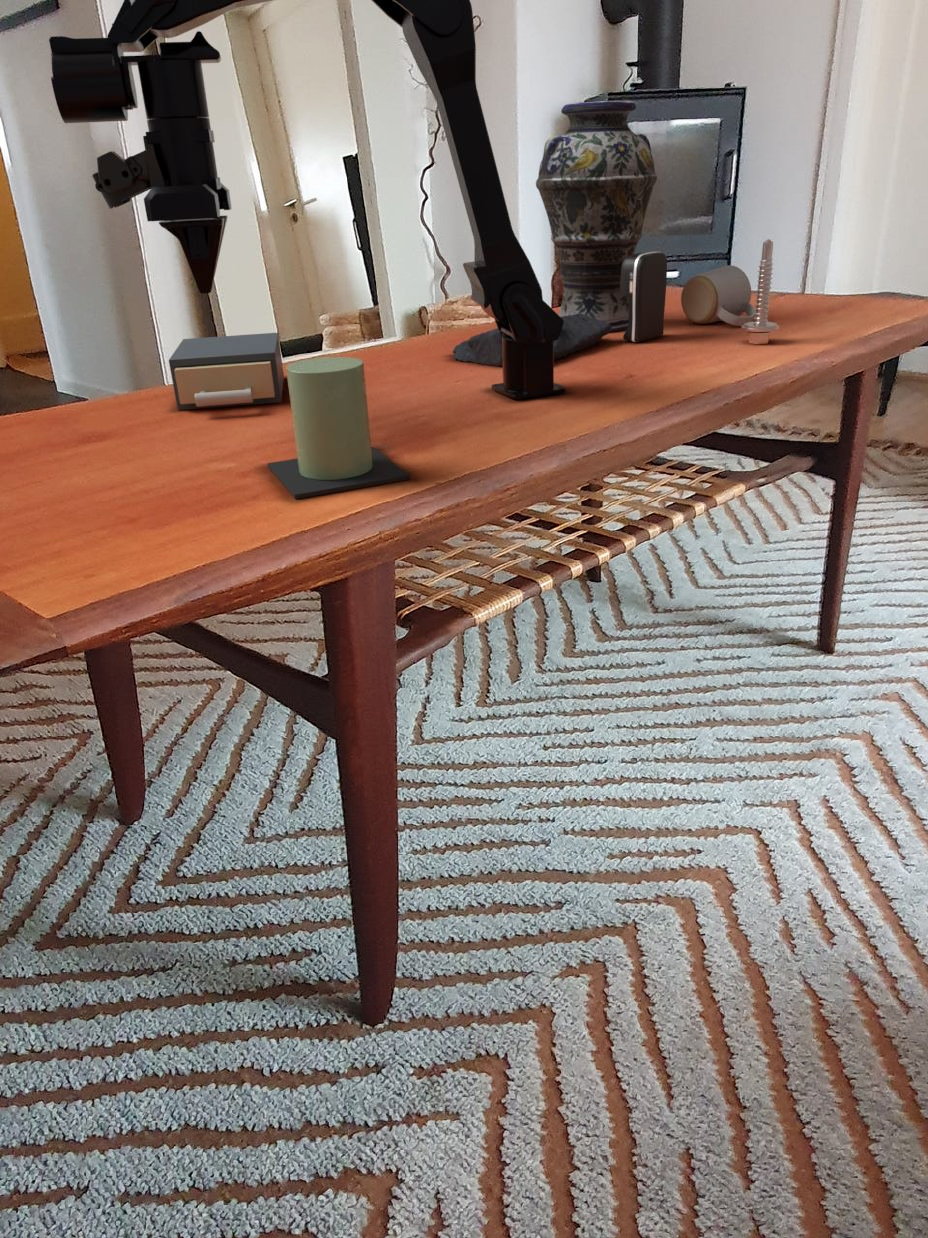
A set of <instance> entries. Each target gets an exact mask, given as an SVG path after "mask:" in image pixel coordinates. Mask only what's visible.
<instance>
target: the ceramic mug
mask: <svg viewBox="0 0 928 1238" xmlns="http://www.w3.org/2000/svg"><path fill="white" fill-rule="evenodd" d="M751 299H752V287H751V283H750V279H749V277H748V276H747V274H746V273H745V272H744V270H742V269H741V268H739V267H738V266H737V265H736V266H735V265H724V266H721V267H717V268H714V269H710V270H707V271H703V272H700V273H698V274H696V275H694V276H692V277H691V278H689V280H687V281H686V283H685V284H684V285H683V288H682V290H681V296H680V305H681V308H682V311H683V313H684V315H685V316H686V318H687V319H689V320H690V321H691V322H693V323H696V324H701V325H703V324H705V325H706V324H711V323H716V322H721V321H723V322H724V323H726V324H728V325H731V326H735V327H742V326H743V325H744V324H745V323H748V322H754V320H755V319H754V318H755V314H754V313H756V310H755V307H754V305H752V303H751ZM744 313H745V314H746V315H747V316H743V314H744Z"/></svg>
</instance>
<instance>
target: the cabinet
mask: <svg viewBox="0 0 928 1238" xmlns="http://www.w3.org/2000/svg"><path fill="white" fill-rule="evenodd" d="M263 360H269V361H271V368H272V376H273V383H274V391H275V397H270V398H257V399H253V402H250V403H237V404H224V405H211V406H198V407H197V406H196V403H192V404H180V399H179V393H178V388H177V382H176V377H175V371H174V370H175V368H182V367H184V366H194V365H208V364H222V363H235V362H249V361H263ZM168 365H169V369H170V375H171V381H172V387H173V392H174V397H175V403H176V408H177V411H184V410H185V411H186V410H199V409H213V408H226V407H235V406H236V407H237V406H238V407H239V406H251V405H264V404H265V405H266V404H275V403H278V404H279V403H282V401H283V399H282V398H283V390H284V382H285V380H284V379H285V375H284V367H283V359H282V351H281V343H280V336H279V332H267V333H265V332H264V333H253V334H252V333H251V334H250V333H249V334H237V335H224V336H223V335H222V336H208V337H207V336H206V337H194V338H183V339H182V340H181V341H180V343H179V344H178V346H177V347H176V349H175V350H174V351H173V353H172V354H171V356H170V358H169V359H168Z"/></svg>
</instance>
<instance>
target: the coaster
mask: <svg viewBox="0 0 928 1238" xmlns="http://www.w3.org/2000/svg"><path fill="white" fill-rule="evenodd" d="M371 451H372V462H373V467H372V469H371V470H370V471H368V472H367V473H365V474H362V475H359V476H356V477H352V478H347V479H340V480H315V479H310V478H306V477H304V476H302V475H301V474H300V472H299V466H298V458H292V459H286V460H280V461H279V460H278V461H274V462H267V468H268V469H269V471H271V472H270V473H272V475H274V476H275V477H276V479H277V480H278V481H279V482H280V483H281V485H283V486H284V488H285V489H286V490H287V491H288V492H289V493H290V495H291V496H292V498H293V499H294V500H300V499H304V498H311V497H317V496H321V495H328V494H335V493H339V492H344V491H351V490H357V489H362V488H368V487H374V486H380V485H385V484H390V483H396V482H402V481H407V480H411V475H410V474H409V473H408V472H406V470H404V469H402V467H400V466H399V465H398V464H396V463H395V462H394V461H392V460H391V459H390V458H388V457H387V456H385V455H384V454H383V453H381V452H380V451H379V450H378V449H376V448H375V447H374V446H371Z"/></svg>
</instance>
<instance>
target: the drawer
mask: <svg viewBox="0 0 928 1238" xmlns="http://www.w3.org/2000/svg"><path fill="white" fill-rule="evenodd" d="M174 371H175V377H176V382H177V388H178V393H179V399H180V404H192V403H196V406H197V407H198V406H211V405H224V404H237V403H250V402H253V399H257V398H270V397H275V391H274V383H273V376H272V368H271V361H269V360H263V361H249V362H235V363H222V364H208V365H194V366H184V367H182V368H175V370H174Z"/></svg>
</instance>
